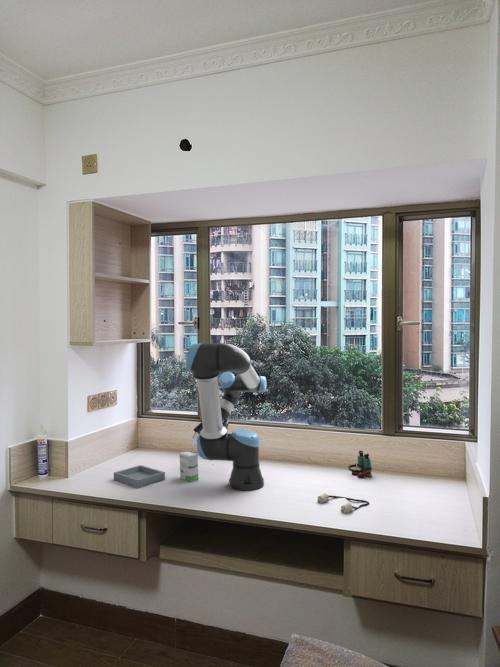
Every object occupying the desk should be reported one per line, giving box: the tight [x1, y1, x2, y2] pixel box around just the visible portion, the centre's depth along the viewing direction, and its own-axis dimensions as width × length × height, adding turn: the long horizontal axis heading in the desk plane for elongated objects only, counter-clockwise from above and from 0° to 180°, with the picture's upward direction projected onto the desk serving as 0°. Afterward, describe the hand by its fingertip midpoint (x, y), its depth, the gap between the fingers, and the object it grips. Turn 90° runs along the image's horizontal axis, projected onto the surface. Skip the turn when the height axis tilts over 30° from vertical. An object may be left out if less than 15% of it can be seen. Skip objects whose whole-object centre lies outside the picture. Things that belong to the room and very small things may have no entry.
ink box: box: [179, 451, 200, 483], centre depth 237 cm, size 9×5×12 cm, turn 39°
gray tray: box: [113, 464, 166, 489], centre depth 238 cm, size 18×15×4 cm
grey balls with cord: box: [317, 492, 370, 514], centre depth 204 cm, size 16×16×4 cm
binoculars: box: [347, 450, 373, 479], centre depth 238 cm, size 9×11×10 cm
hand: (201, 447), depth 244 cm, fingers open, 13 cm apart
